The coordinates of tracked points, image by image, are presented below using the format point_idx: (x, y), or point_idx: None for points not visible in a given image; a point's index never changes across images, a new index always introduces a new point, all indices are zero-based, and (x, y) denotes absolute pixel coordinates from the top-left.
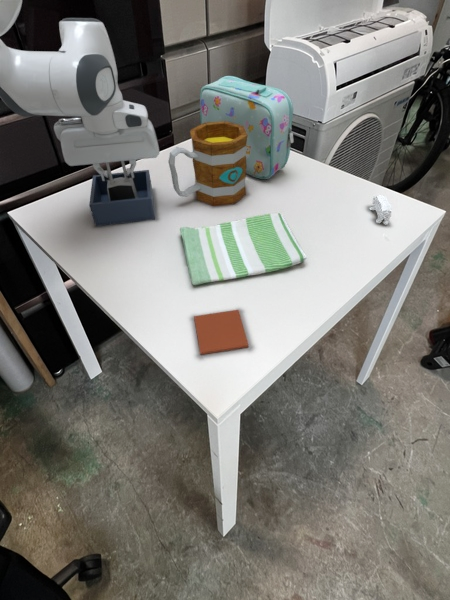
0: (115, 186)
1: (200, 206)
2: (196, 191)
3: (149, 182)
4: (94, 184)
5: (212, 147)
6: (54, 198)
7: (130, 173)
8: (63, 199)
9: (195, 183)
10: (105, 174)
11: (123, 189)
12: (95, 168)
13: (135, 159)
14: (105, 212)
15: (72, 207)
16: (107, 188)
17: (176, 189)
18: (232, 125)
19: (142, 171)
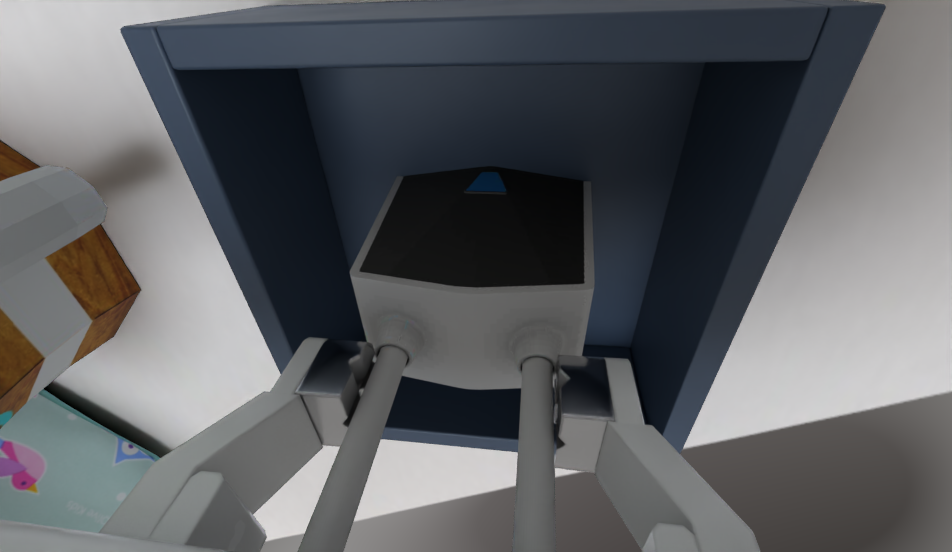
0: (507, 284)
1: (24, 119)
2: (76, 245)
3: (250, 306)
4: (689, 380)
5: None
6: (900, 384)
7: (310, 376)
8: (852, 365)
9: (94, 304)
10: (586, 414)
11: (444, 257)
12: (724, 521)
13: (47, 534)
14: (657, 2)
15: (833, 284)
16: (590, 283)
17: (18, 185)
18: None
19: None
